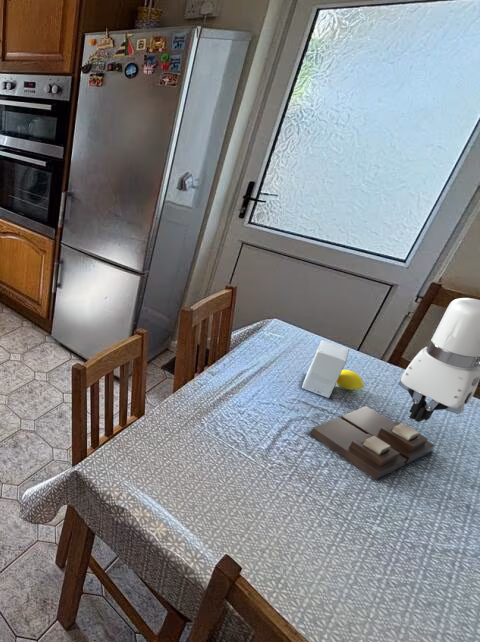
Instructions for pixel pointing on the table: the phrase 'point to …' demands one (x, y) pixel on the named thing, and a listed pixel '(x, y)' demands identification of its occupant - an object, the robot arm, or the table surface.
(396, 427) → the key
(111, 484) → the table surface
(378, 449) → the key
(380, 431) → the keys low
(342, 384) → the lemon
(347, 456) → the keys high
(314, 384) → the small box
